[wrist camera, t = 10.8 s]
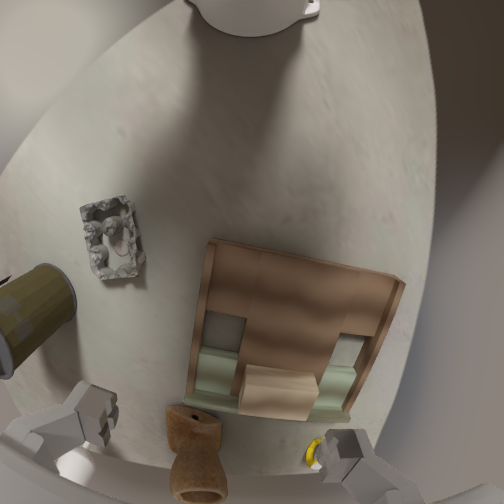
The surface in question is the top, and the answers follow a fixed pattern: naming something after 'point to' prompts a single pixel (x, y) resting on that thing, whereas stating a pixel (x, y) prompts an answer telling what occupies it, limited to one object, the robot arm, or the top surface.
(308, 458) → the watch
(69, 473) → the champagne flute
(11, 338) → the canister
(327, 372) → the brown shallow open piece
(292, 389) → the block
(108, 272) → the egg carton
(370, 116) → the top surface
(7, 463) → the robot arm
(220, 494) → the clay pipe
